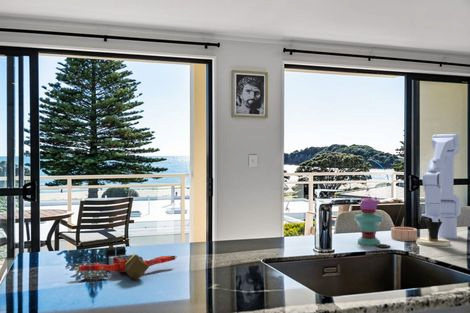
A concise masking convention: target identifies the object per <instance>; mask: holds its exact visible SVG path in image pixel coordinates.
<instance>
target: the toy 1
mask: <svg viewBox="0 0 470 313" xmlns="http://www.w3.org/2000/svg"><path fill="white" fill-rule="evenodd" d="M126 251H127V250H126V247H125V245H123V246H115V247H114V246H113V247H105V263H106V264H104V263H89V264H84V265H78V266H76V267H74V270H78V271H80V272H81V271H86V272H87V271H89V272H90V271H91V272H94V271H95V272H97V271H98V272H99V271H109V272H110V271H111V272H119V273H127V275H128V276H129V277H130V279H131V280H134V281H137V280H139V279H140V278H142V277H143V275H144V274H145V273H146V271H147V269H149V267H152V266H155V265H159V264H164V263H166V262H168V263H169V262H172V261H175V260H176V259H177V258H178V256H176V255H161V256H157V257H154V258H152V259H149V260H147V259H144V258H143V257H142V256H139V255H137V254H135V253H132V254H129V255H128V254H127V253H126Z"/></svg>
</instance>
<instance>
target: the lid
mask: <svg viewBox="0 0 470 313" xmlns="http://www.w3.org/2000/svg"><path fill="white" fill-rule="evenodd" d="M416 241H417V243H418V244H422V245H428V246H448V245H451V241H450V240H448V239H447V238H439V237H437V239H431V237H430V232H428V237H420V238H417V240H416ZM417 243H416V244H417Z"/></svg>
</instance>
